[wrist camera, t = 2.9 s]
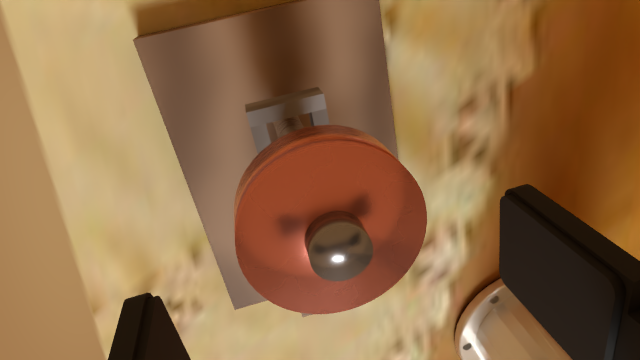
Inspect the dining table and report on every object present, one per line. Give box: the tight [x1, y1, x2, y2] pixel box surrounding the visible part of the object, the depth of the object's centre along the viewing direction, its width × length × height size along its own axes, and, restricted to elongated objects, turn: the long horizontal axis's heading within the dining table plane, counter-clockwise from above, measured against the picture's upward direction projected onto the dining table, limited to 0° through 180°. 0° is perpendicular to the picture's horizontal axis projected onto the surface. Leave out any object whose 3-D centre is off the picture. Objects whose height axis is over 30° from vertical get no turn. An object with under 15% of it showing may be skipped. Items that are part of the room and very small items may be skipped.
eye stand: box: [133, 0, 398, 317], centre depth 26 cm, size 14×20×8 cm
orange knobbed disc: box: [234, 116, 427, 314], centre depth 20 cm, size 6×6×14 cm
